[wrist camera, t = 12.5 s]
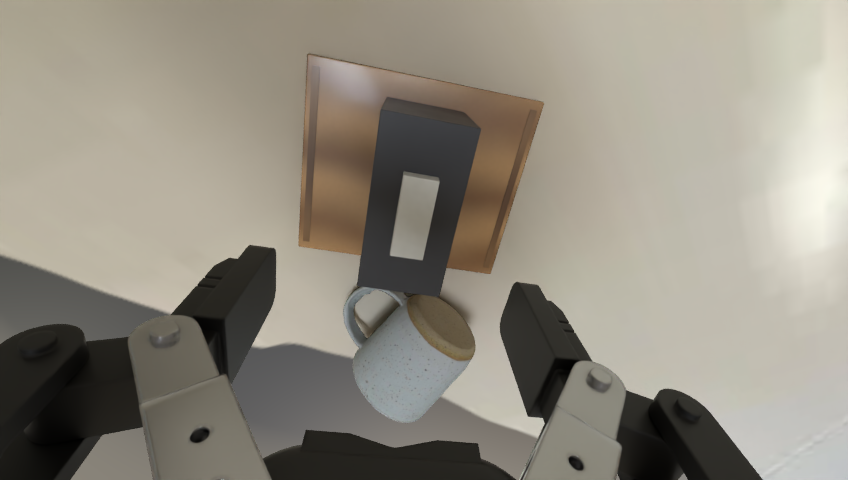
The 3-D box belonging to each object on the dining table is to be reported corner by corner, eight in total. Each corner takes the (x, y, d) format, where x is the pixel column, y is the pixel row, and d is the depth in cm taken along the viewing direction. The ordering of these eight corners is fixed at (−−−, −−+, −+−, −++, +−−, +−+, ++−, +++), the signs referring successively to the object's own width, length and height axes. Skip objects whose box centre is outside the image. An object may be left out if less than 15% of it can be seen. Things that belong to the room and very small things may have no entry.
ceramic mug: (475, 313, 34) (491, 378, 27) (422, 368, 37) (424, 440, 30) (377, 254, 31) (367, 309, 24) (328, 318, 34) (306, 385, 27)
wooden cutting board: (309, 53, 24) (307, 53, 23) (541, 101, 26) (544, 102, 25) (300, 243, 30) (297, 246, 29) (489, 270, 32) (490, 274, 31)
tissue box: (386, 96, 25) (379, 111, 18) (464, 112, 25) (484, 131, 19) (366, 241, 30) (355, 293, 23) (432, 251, 30) (439, 304, 24)
